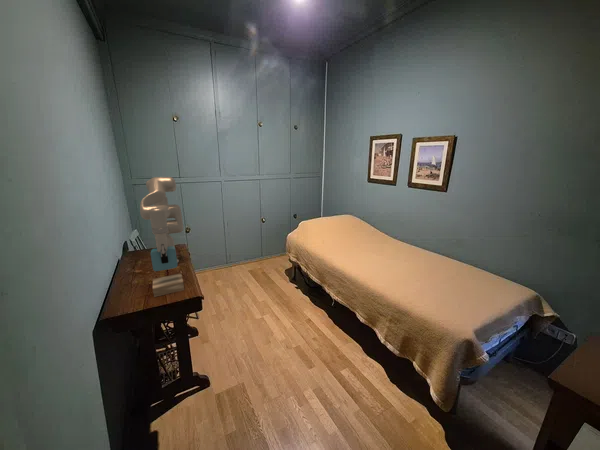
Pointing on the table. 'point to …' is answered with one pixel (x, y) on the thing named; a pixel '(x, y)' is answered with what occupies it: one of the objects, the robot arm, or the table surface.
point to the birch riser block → (167, 284)
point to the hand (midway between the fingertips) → (164, 260)
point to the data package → (158, 263)
